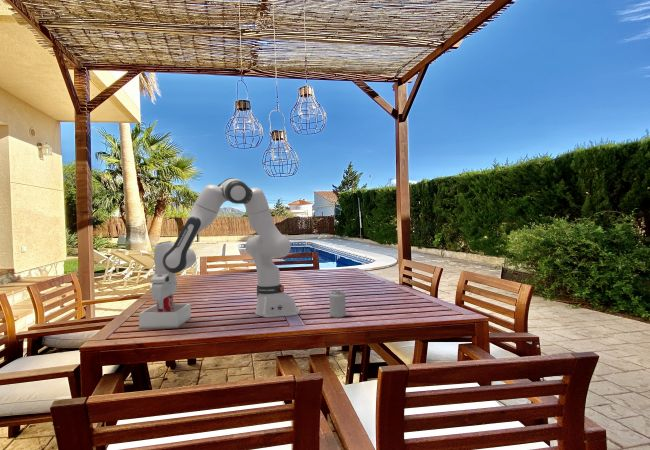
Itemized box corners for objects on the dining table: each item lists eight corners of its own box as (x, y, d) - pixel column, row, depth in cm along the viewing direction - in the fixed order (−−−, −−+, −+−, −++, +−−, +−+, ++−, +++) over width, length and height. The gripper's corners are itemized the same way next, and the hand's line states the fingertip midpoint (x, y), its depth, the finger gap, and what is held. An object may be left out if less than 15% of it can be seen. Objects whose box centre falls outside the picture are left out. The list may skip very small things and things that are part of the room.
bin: (191, 317, 183) (190, 303, 183) (177, 327, 166) (177, 312, 166) (155, 318, 182) (155, 304, 182) (139, 328, 165) (138, 313, 165)
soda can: (167, 323, 170) (167, 296, 170) (153, 322, 172) (153, 296, 172) (176, 319, 177) (176, 293, 177) (163, 318, 178) (163, 293, 178)
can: (347, 314, 182) (346, 290, 182) (343, 318, 175) (342, 293, 175) (332, 313, 184) (332, 289, 184) (327, 317, 177) (327, 292, 177)
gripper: (167, 273, 184) (168, 301, 184) (148, 280, 164) (149, 311, 164) (180, 272, 184) (181, 300, 185) (162, 279, 164) (164, 311, 164)
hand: (166, 306), depth 174 cm, fingers open, 8 cm apart
